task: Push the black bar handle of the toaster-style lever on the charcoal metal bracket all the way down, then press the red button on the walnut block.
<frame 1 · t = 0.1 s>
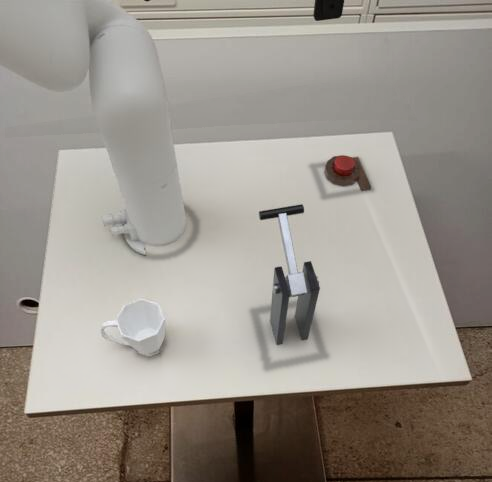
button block: (341, 177, 94), on the table
bracket: (288, 333, 79), on the table
lever: (289, 251, 67), point 16 cm above the table, hinge at 25.0°
cup: (140, 344, 78), on the table
button: (343, 165, 92), point 3 cm above the table, slide at 0.1 cm
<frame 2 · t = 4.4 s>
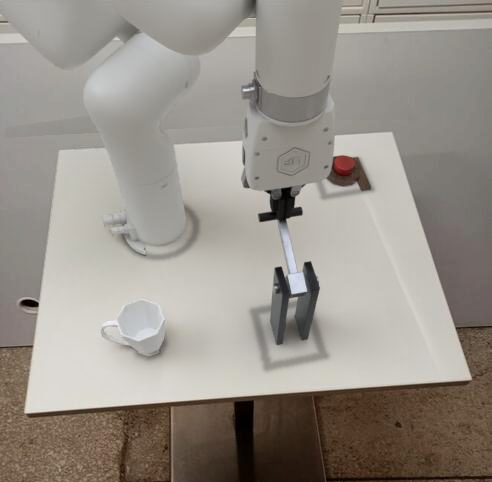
hand: (281, 211, 67), 18 cm above the table, tool pointing down, fingers closed
lever: (288, 252, 67), point 16 cm above the table, hinge at 19.6°, touching gripper
everything else where it was.
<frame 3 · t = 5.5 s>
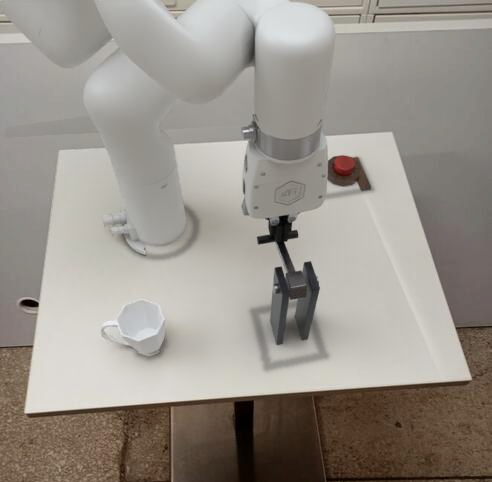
hand: (279, 234, 72), 13 cm above the table, tool pointing down, fingers closed
lever: (287, 262, 69), point 13 cm above the table, hinge at -11.6°, touching gripper
everything else where it was.
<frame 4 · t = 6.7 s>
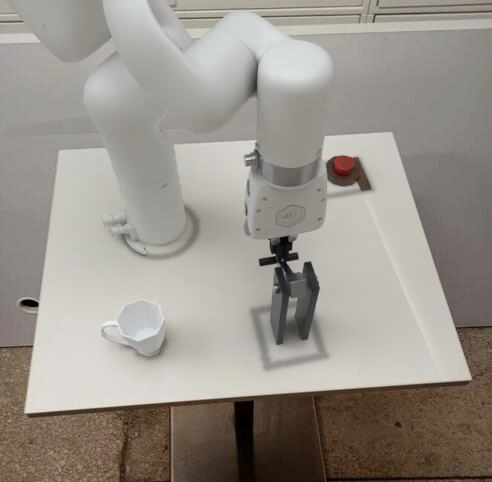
hand: (280, 252, 74), 10 cm above the table, tool pointing down, fingers closed
lever: (287, 272, 71), point 11 cm above the table, hinge at -33.3°, touching gripper
everything else where it was.
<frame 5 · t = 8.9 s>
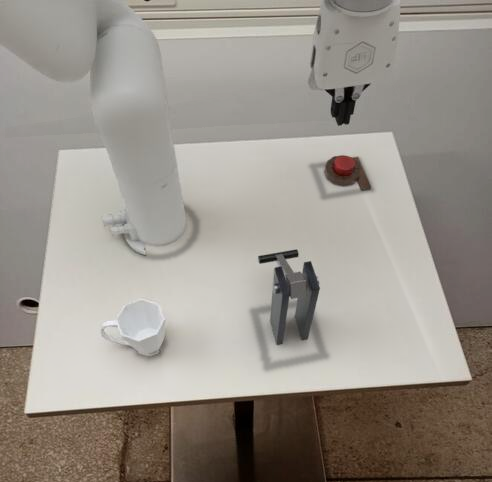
hand: (340, 118, 73), 20 cm above the table, tool pointing down, fingers closed
lever: (287, 271, 70), point 12 cm above the table, hinge at -30.8°
everything else where it was.
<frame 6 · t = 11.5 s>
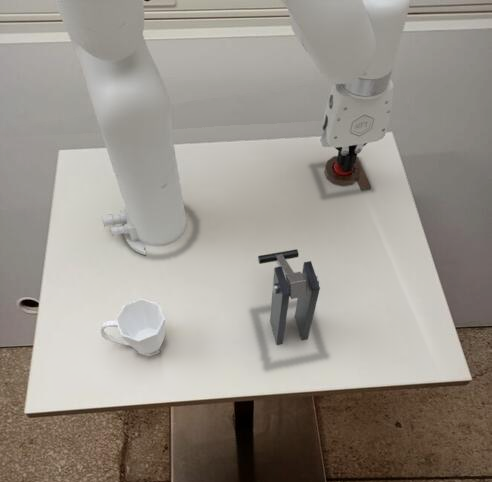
hand: (345, 165, 92), 3 cm above the table, tool pointing down, fingers closed
button: (343, 169, 93), point 2 cm above the table, slide at -0.9 cm, touching gripper
everything else where it was.
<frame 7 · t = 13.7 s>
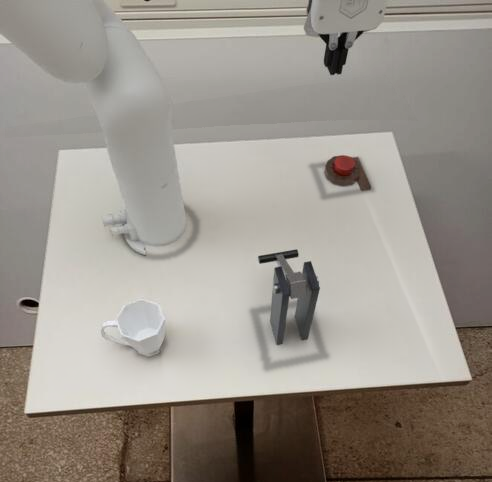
hand: (333, 69, 77), 21 cm above the table, tool pointing down, fingers closed
button: (343, 165, 92), point 3 cm above the table, slide at 0.1 cm
everything else where it was.
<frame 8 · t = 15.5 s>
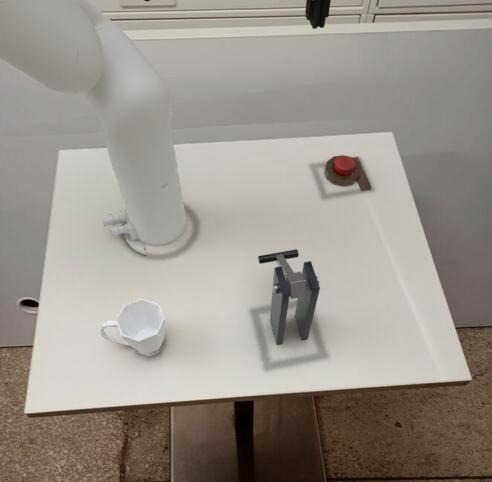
hand: (315, 22, 72), 27 cm above the table, tool pointing down, fingers closed
nothing on the table moved.
at the end: lever at -31° (first picture: +25°); button pushed in 1.1 cm at the most during the clip, back to where it started at the end; button slide at 0.1 cm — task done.
